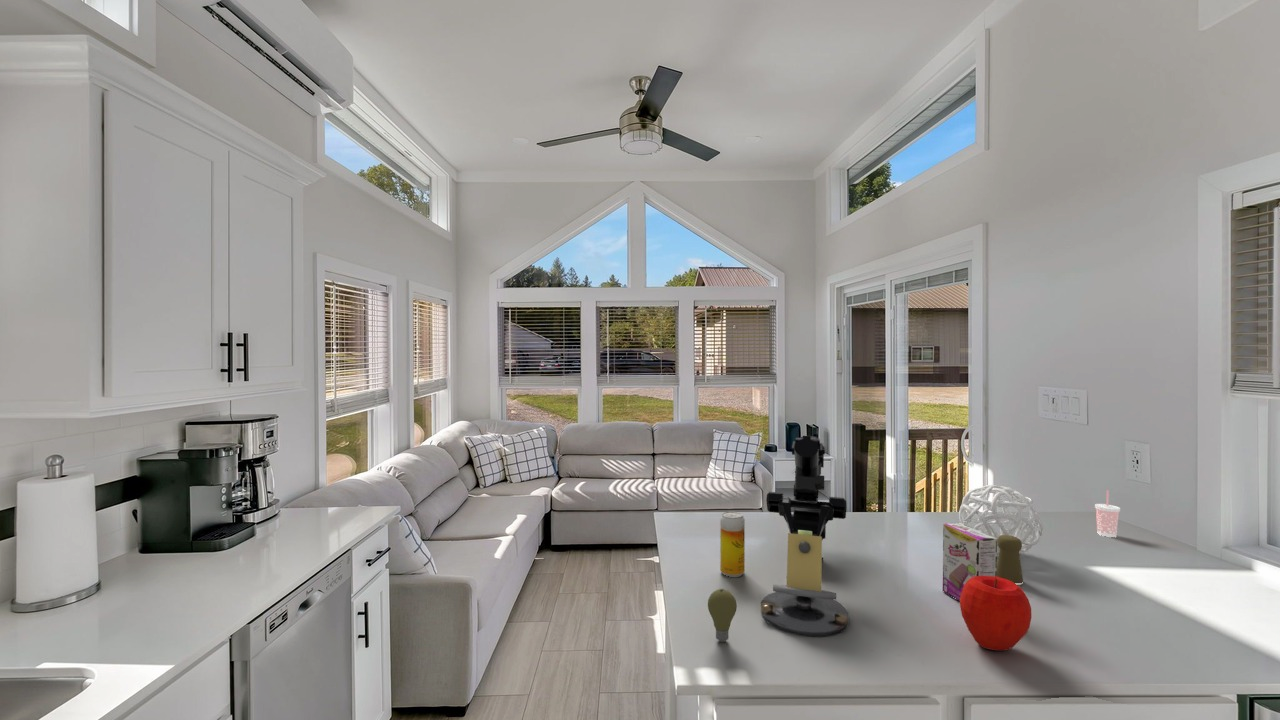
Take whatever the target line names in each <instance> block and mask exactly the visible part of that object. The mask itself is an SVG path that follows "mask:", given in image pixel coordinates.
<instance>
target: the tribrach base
mask: <svg viewBox="0 0 1280 720" xmlns="http://www.w3.org/2000/svg"><path fill="white" fill-rule="evenodd" d="M760 614H761V616H762V618H763V619H764V620H765V621H766V622H767V623H768V624H769V625H771V626H773V627H774V628H776V629H778V630H780V631H783V632H786V633H789V634H794V635H795V636H798V635H799V636H802V637H813V638H822V637H823V638H824V637H831V636H835V635H836V636H837V635H839V634H840V633H843V632H844V631H846V630H847V628H848V627H849V620H850V619H849V617H850V616H849V615H850V614H849V611H848V610H847V609H846V607H845V606H844V605H843V604H841V603H840V602H839V601H838V600H836V599H821V598H812V597H804V596H797V595H790V594H784V593H779V592H775V591H773V592H770V593H768V594H767V595H765V596H764V597H762V599H761V601H760Z"/></svg>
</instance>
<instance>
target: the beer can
mask: <svg viewBox="0 0 1280 720" xmlns="http://www.w3.org/2000/svg"><path fill="white" fill-rule="evenodd" d="M719 520H720V521H719V527H720V528H719V529H720V530H719V532H720V533H719V534H720V535H719V539H720V542H719V545H720V546H719V548H720V549H719V552H720V553H719V554H720V555H719V557H720V558H719V559H720V562H719V564H720V565H719V566H720V567H719V569H720V572H721V573H722V575H723V574H724V575H723V576H725V575H726V576H725V577H728V576H729V577H728V578H738V577H739V578H740V577H741V576H743V574H744V573H745V569H746V568H745V563H746V562H745V559H746V558H745V553H746V552H745V551H746V550H745V546H746V545H745V542H746V541H745V539H746V538H745V537H746V535H745V526H746V525H745V521H746V520H745V517H744V514H743V513H741V512H738V511H725V512H722V513H721V517H720V518H719Z"/></svg>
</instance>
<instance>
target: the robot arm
mask: <svg viewBox="0 0 1280 720" xmlns="http://www.w3.org/2000/svg"><path fill="white" fill-rule="evenodd" d="M791 455H793V456H794V463H795V464H794V465H795V469H794V471H795V473H794V474H795V475H794V484H793V498H790V497H788V496H784V492H780V491H779V492H778V491H768V492H767V493H766V509H767V511H768V512H769V513H778V515H779V516H780V517H783V519H784V521H785V522H786V524H787V528H788V530H789V533H791V534H798V530H805V531H812V536H820V537H822V541H823V540H824V539H826V530H827V529H826V528H827V526H826V525H827V524H828V522H829V521H833V520H834V519H839V520H841V519H842V520H845V519H846V518H847V500H846V499H845V498H844V497H839V496H828V497H829V498H828V501H819V491H820V490H821V491H824V490H825V475H821V474H822V468H823V469H824V466H825V464H824V462H825V461H824V459H825V458H824V456H825V455H826V448H825V446H824V445H823V443H822V442H821V440H820V438H818V437H817V436H814V435H813V436H811V435H802V436H800V437H796V438H795V441H792V445H791ZM792 508H793V514H792ZM822 561H824V557H822Z"/></svg>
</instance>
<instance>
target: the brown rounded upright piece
mask: <svg viewBox="0 0 1280 720" xmlns="http://www.w3.org/2000/svg"><path fill="white" fill-rule="evenodd" d="M997 545H998V547H999V548H1000V549H999V553H998V554H997V555H998V558H997V559H996V577H1000V578H1004V579H1007V580H1010V581H1012V582H1014V583H1022V582H1023V583H1024V578H1023V577H1024V576H1023V572H1022V563H1021V554H1019V551H1020V550H1021V548H1022V542H1021V540H1020V539H1019V537H1018V538H1017V537H1014V535H1012V536H1010V535H1001V536H999V537H998V539H997Z"/></svg>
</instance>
